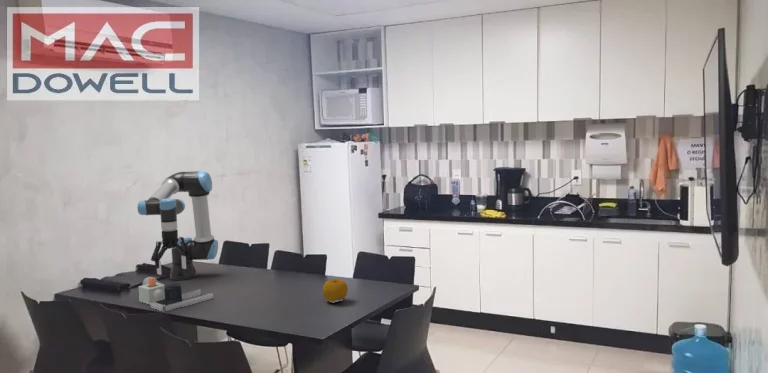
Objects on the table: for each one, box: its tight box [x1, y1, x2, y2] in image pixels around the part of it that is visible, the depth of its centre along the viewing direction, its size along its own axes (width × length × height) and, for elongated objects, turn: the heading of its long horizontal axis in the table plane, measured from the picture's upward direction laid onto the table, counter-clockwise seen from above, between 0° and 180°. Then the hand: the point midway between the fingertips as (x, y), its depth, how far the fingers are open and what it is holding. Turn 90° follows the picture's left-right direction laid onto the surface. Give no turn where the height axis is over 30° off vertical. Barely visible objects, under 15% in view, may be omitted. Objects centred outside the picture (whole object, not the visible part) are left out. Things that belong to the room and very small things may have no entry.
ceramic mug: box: [141, 276, 160, 286], centre depth 318 cm, size 11×8×8 cm
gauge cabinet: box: [137, 281, 165, 306], centre depth 300 cm, size 10×10×8 cm
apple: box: [322, 278, 349, 301], centre depth 293 cm, size 13×13×11 cm
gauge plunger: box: [148, 276, 157, 287], centre depth 300 cm, size 4×4×7 cm
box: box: [164, 282, 183, 305], centre depth 292 cm, size 8×6×11 cm
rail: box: [149, 288, 214, 313], centre depth 296 cm, size 28×12×3 cm, turn 141°
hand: (172, 271), depth 291 cm, fingers open, 13 cm apart
